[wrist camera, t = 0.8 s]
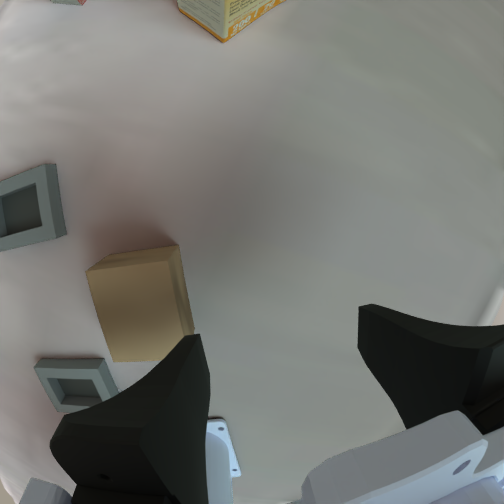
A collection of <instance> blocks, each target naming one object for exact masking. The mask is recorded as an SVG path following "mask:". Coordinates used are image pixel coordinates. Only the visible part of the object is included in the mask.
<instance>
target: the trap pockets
mask: <svg viewBox="0 0 504 504" xmlns="http://www.w3.org/2000/svg"><path fill="white" fill-rule="evenodd" d="M66 234H67V233H66V228H65V223H64V218H63V212H62V206H61V200H60V193H59V186H58V178H57V169H56V164H44V165H41V166H38V167H36V168H33V169H30V170H28V171H25V172H23V173H20V174H18V175H15V176H13V177H10V178H8V179H6V180H3V181H1V182H0V252H2V251H5V250H9V249H13V248H17V247H22V246H26V245H30V244H34V243H38V242H42V241H47V240H51V239H56V238H58V237H61V236H63V235H66ZM34 369H35V371H36V373H37V375H38V377H39V379H40V381H41V383H42V385H43V387H44V389H45V391H46V393H47V394H48V396H49V398H50V400H51V402H52V403H53V405H54V407H55V408H56V410H57V411H58V412H66V413H73V412H77V411H80V410H83V409H86V408H89V407H91V406H94V405H96V404H99V403H101V402H103V401H105V400H108V399H110V398H112V397H114V396H115V395H117V394H119V392H118V390H117V388H116V385H115V383H114V381H113V379H112V376H111V374H110V372H109V369H108V367H107V364H106V362H105V359H41V360H40V361H39V362H38V363H37V364H36V365H35V367H34Z"/></svg>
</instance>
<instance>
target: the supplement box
mask: <svg viewBox="0 0 504 504" xmlns="http://www.w3.org/2000/svg"><path fill="white" fill-rule="evenodd" d="M284 1H285V0H177V2H178V7H179V10H180V12H182V13H183V14H185V15H186V16H188V17H189V18H191V19H192V20H193V21H195V22H196V23H198V24H199V25H200V26H202V27H203V28H205V29H206V30H207V31H209V32H210V33H211V34H213V35H214V36H215V37H216V38H218V39H219V40H220V41H221V42H223V43H224V42H226V41H227V40H229V39H230V38H232V37H233V36H234V35H236V34H237V33H238V32H240V31H241V30H242V29H243V28H245V27H246V26H247V25H249V24H250V23H252V22H253V21H254V20H256V19H257V18H258V17H260V16H261V15H263V14H264V13H266V12H267V11H269V10H270V9H271V8H273V7H275V6H276V5H278V4H280V3H282V2H284Z"/></svg>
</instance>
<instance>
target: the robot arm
mask: <svg viewBox="0 0 504 504" xmlns="http://www.w3.org/2000/svg"><path fill="white" fill-rule="evenodd" d="M358 349H359V351H360V354H361V356H362V358H363V360H364V361H365V363H366V365H367V367H368V368H369V369H370V371H371V372H372V374H373V375H374V376H375V378H376V379H377V381H378V382H379V383H380V385H381V386H382V388H383V389H384V390H385V392H386V393H387V394H388V396H389V397H390V399H391V400H392V402H393V404H394V405H395V407H396V409H397V411H398V413H399V415H400V417H401V419H402V421H403V423H404V425H405V427H406V429H407V430H405V431H402V432H400V433H397V434H395V435H392V436H390V437H387V438H384V439H381V440H378V441H376V442H373V443H370V444H367V445H364V446H360V447H357V448H354V449H351V450H348V451H346V452H343V453H341V454H339V455H336V456H334V457H331V458H329V459H327V460H325V461H324V462H323V463H321V464H320V465H319V466H317V467H316V468H314V469H313V470H312V471H310V473H309V474H308V475H307V477H306V479H305V481H304V483H303V485H302V498H301V499H300V500H297V501H294V502H291V503H287V504H504V325H497V326H458V325H450V324H443V323H438V322H433V321H428V320H425V319H421V318H417V317H414V316H410V315H407V314H404V313H401V312H398V311H395V310H392V309H389V308H386V307H383V306H379V305H375V304H368V305H364V306H359V316H358ZM209 403H210V373H209V369H208V365H207V361H206V357H205V353H204V349H203V345H202V341H201V337H200V334H193V335H185V336H184V337H183V338H182V339H181V340H180V341H179V342H178V344H177V345H176V346H175V347H174V348H173V349H172V350H171V351H170V352H169V353H168V354H167V356H166V357H165V358H164V359H163V360H162V361H161V362H160V363H159V364H157V365H156V366H155V367H154V368H153V369H152V370H151V371H150V372H149V373H148V374H147V375H145V376H144V377H143V378H142V379H140V380H139V381H137V382H136V383H135V384H133V385H132V386H130V387H129V388H127V389H125V390H124V391H122V392H120V393H119V394H117V395H115V396H114V397H112V398H110V399H108V400H105V401H103V402H101V403H99V404H96V405H94V406H91V407H89V408H86V409H83V410H80V411H77V412H73V413H70V414H66V415H64V417H63V418H62V420H61V422H60V424H59V426H58V427H57V429H56V431H55V433H54V435H53V437H52V439H51V440H50V449H51V452H52V454H53V456H54V458H55V459H56V461H57V462H58V463H59V465H60V466H61V467H62V468H63V469H64V470H65V472H66V473H67V474H68V475H69V476H70V477H71V479H72V480H73V481H74V482H75V483H76V484H77V485H76V488H75V491H74V494H73V497H71V495H70V494H69V493H68V492H67V491H66V490H64V489H63V488H62V487H60V486H58V485H56V484H53V483H49V482H46V481H43V480H39V479H36V478H31V479H30V481H29V483H28V485H27V487H26V489H25V492H24V494H23V496H22V498H21V500H20V503H19V504H233V491H232V477H239V476H240V475H241V470H240V467H239V464H238V461H237V458H236V455H235V451H234V448H233V445H232V442H231V438H230V435H229V432H228V428H227V425H226V422H225V420H223V419H212V420H208V412H209ZM220 427H223V428H220Z"/></svg>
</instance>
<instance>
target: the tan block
mask: <svg viewBox="0 0 504 504" xmlns="http://www.w3.org/2000/svg"><path fill="white" fill-rule="evenodd" d="M85 272H86V276H87V280H88V284H89V287H90V291H91V295H92V298H93V302H94V305H95V309H96V312H97V315H98V319H99V322H100V325H101V328H102V331H103V334H104V337H105V340H106V343H107V346H108V349H109V351H110V354H111V357H112V359H113V362H136V361H157V360H163V359H164V358H165V357H166V356H167V354H168V353H169V352H170V351H171V350H172V349H173V348H174V347H175V346H176V345H177V344H178V342H179V341H180V340H181V339H182V338H183V337H184V336H185V335H193V334H194V329H195V327H194V323H193V318H192V313H191V308H190V304H189V299H188V293H187V288H186V283H185V278H184V272H183V267H182V261H181V255H180V250H179V245H174V246H167V247H160V248H153V249H146V250H139V251H132V252H125V253H118V254H111V255H108V256H107V257H105V258H104V259H102V260H101V261H99V262H98V263H97V264H95V265H94V266H92V267H91V268H89V269H88V270H87V271H85Z"/></svg>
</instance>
